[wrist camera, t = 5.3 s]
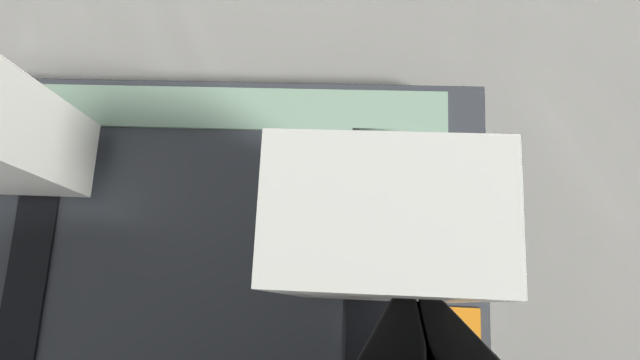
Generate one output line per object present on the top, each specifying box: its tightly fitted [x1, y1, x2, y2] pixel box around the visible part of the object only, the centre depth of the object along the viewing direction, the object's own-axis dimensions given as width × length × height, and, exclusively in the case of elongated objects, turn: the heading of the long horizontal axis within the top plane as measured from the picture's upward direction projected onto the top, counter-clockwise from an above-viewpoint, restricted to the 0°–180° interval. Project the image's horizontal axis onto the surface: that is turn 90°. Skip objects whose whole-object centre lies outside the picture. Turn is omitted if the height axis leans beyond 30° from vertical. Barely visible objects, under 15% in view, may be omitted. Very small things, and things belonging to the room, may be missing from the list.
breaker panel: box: [0, 79, 491, 360], centre depth 15 cm, size 13×15×3 cm
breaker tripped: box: [251, 128, 528, 303], centre depth 10 cm, size 2×3×7 cm, turn 88°
